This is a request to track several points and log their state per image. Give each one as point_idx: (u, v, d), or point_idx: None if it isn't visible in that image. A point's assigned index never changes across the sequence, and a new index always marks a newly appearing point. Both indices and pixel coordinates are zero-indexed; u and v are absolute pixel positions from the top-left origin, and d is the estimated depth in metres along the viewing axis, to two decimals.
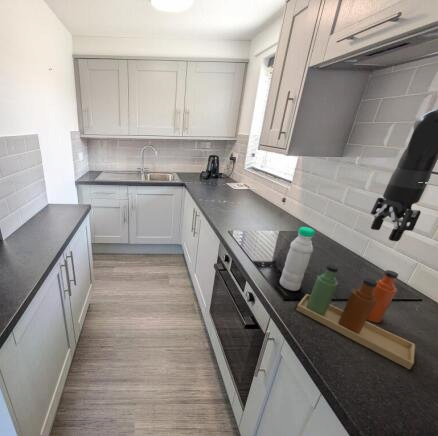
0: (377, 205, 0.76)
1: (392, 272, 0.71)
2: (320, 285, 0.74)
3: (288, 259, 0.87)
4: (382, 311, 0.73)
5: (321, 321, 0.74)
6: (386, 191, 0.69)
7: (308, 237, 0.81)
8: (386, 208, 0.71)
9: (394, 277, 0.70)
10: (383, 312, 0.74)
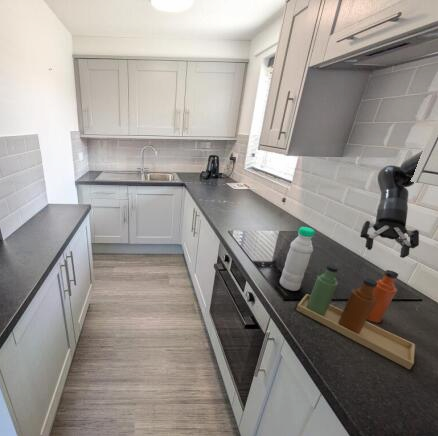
0: None
1: (392, 272, 0.71)
2: (320, 285, 0.74)
3: (288, 259, 0.87)
4: (382, 311, 0.73)
5: (321, 321, 0.74)
6: None
7: (308, 237, 0.81)
8: None
9: (394, 277, 0.70)
10: (383, 312, 0.74)
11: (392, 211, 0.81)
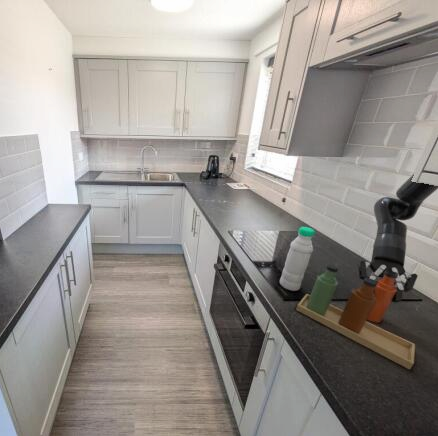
0: None
1: (392, 272, 0.71)
2: (320, 285, 0.74)
3: (288, 259, 0.87)
4: (382, 311, 0.73)
5: (321, 321, 0.74)
6: None
7: (308, 237, 0.81)
8: None
9: (394, 277, 0.70)
10: (383, 312, 0.74)
11: (389, 249, 0.75)
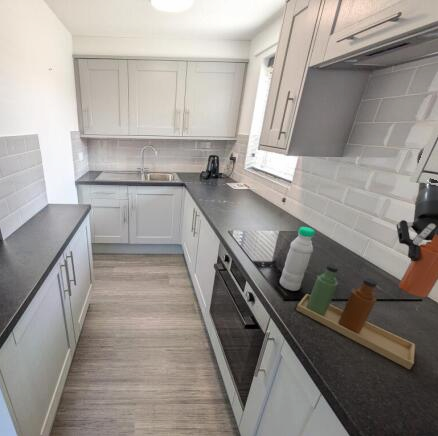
0: None
1: None
2: (320, 285, 0.74)
3: (288, 259, 0.87)
4: (431, 282, 0.57)
5: (321, 321, 0.74)
6: None
7: (308, 237, 0.81)
8: None
9: None
10: (433, 283, 0.58)
11: None
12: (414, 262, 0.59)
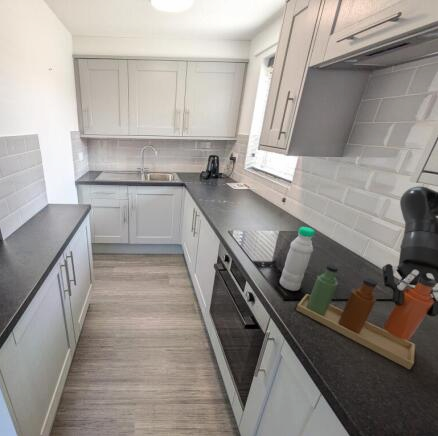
0: None
1: (428, 280, 0.57)
2: (320, 285, 0.74)
3: (288, 259, 0.87)
4: (414, 327, 0.60)
5: (321, 321, 0.74)
6: None
7: (308, 237, 0.81)
8: None
9: (431, 285, 0.56)
10: (415, 328, 0.60)
11: (423, 251, 0.61)
12: (398, 306, 0.62)
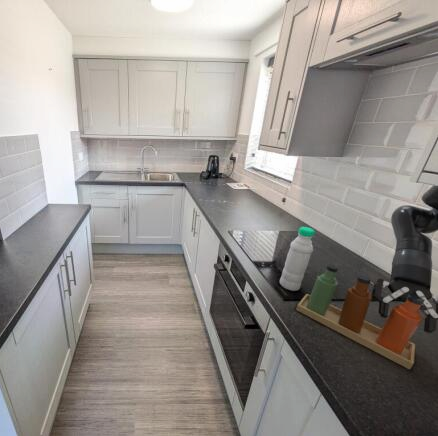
0: None
1: (417, 297, 0.60)
2: (320, 285, 0.74)
3: (288, 259, 0.87)
4: (404, 342, 0.62)
5: (321, 321, 0.74)
6: None
7: (308, 237, 0.81)
8: None
9: (419, 303, 0.59)
10: (405, 343, 0.62)
11: (412, 269, 0.63)
12: (388, 322, 0.64)
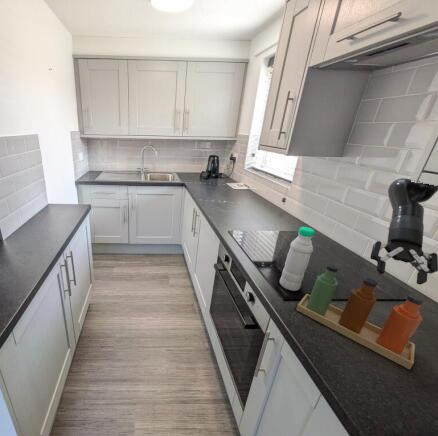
0: None
1: (417, 297, 0.60)
2: (320, 285, 0.74)
3: (288, 259, 0.87)
4: (404, 342, 0.62)
5: (321, 321, 0.74)
6: None
7: (308, 237, 0.81)
8: None
9: (419, 303, 0.59)
10: (405, 343, 0.62)
11: (406, 231, 0.72)
12: (388, 322, 0.64)
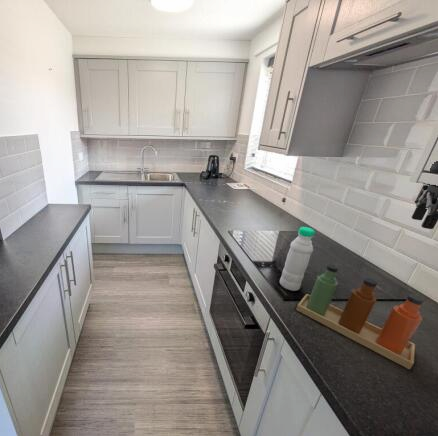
0: (421, 193, 0.70)
1: (417, 297, 0.60)
2: (320, 285, 0.74)
3: (288, 259, 0.87)
4: (404, 342, 0.62)
5: (321, 321, 0.74)
6: None
7: (308, 237, 0.81)
8: (426, 194, 0.67)
9: (419, 303, 0.59)
10: (405, 343, 0.62)
11: None
12: (388, 322, 0.64)
